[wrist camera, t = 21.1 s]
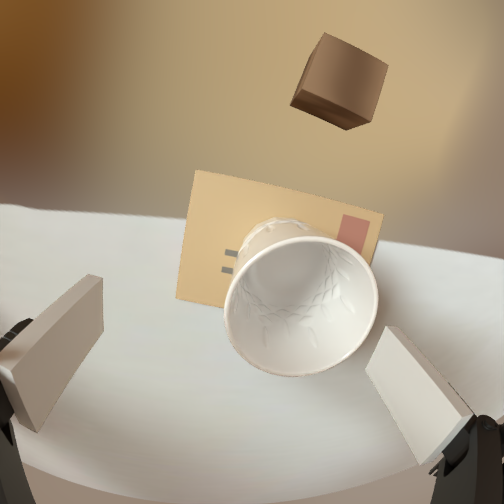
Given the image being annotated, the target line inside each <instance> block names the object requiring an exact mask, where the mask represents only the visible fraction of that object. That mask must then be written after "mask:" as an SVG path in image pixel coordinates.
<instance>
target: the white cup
mask: <svg viewBox="0 0 504 504" xmlns="http://www.w3.org/2000/svg"><path fill="white" fill-rule="evenodd" d="M377 309H378V288H377V283H376V280H375V277H374V274H373V272H372V270H371V268H370V267H369V265H368V264H367V262H366V261H365V260H364V258H363V257H362V256H361V255H360V254H359V253H357V252H356V251H355V250H354V249H352V248H351V247H349V246H348V245H346V244H344V243H342V242H340V241H339V240H337V239H335V238H333V237H332V236H330V235H328V234H326V233H325V232H323V231H321V230H319V229H318V228H316V227H314V226H311V225H309V224H307V223H304V222H301V221H298V220H297V219H295V218H286V217H273V218H271V219H268V220H266V221H263V222H261V223H259V224H257V225H256V226H255V227H254V228H253V229H252V230H251V231H250V232H249V233H248V234H247V236H246V237H245V238H244V240H243V243H242V246H241V248H240V250H239V252H238V255H237V258H236V261H235V264H234V268H233V272H232V276H231V280H230V284H229V288H228V292H227V296H226V300H225V306H224V323H225V328H226V332H227V335H228V337H229V340H230V342H231V344H232V345H233V347H234V348H235V350H236V351H237V352H238V353H239V355H240V356H241V357H242V358H243V359H245V360H246V361H247V362H248V363H250V364H251V365H253V366H254V367H256V368H258V369H260V370H262V371H265V372H267V373H271V374H274V375H279V376H288V377H298V376H307V375H312V374H316V373H319V372H322V371H325V370H328V369H330V368H332V367H334V366H336V365H338V364H339V363H341V362H342V361H344V360H345V359H347V358H348V357H349V356H350V355H351V354H353V353H354V352H355V351H356V350H357V349H358V348H359V346H360V345H361V344H362V343H363V341H364V340H365V339H366V337H367V336H368V334H369V332H370V330H371V328H372V326H373V324H374V321H375V318H376V314H377Z"/></svg>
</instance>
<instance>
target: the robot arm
mask: <svg viewBox="0 0 504 504" xmlns="http://www.w3.org/2000/svg"><path fill="white" fill-rule="evenodd" d="M103 331H104V325H103V278H102V277H98V276H94V275H90V274H87V275H86V276H85V277H84V278H82V279H81V280H80V281H79V282H78V283H76V284H75V285H74V286H73V287H71V288H70V289H69V290H68V291H67V292H65V293H64V294H63V295H62V296H61V297H59V298H58V299H57V300H56V301H55V302H54V303H52V304H51V305H50V306H49V307H48V308H47V309H46V310H44V311H43V312H42V313H41V314H40V315H39V316H38V317H37V318H35V319H34V320H33V319H30V318H28V319H26V320H23V321H21V322H19V323H17V324H16V325H15V326H14V327H13V328H12V329H11V330H10V332H7V333H6V334H5V335H4V337H3V338H1V339H0V504H36V503H35V500H34V498H33V496H32V493H31V490H30V487H29V484H28V481H27V479H26V476H25V472H24V469H23V466H22V462H21V459H20V455H19V451H18V448H17V443H16V439H15V435H14V430H13V425H12V423H11V420H10V418H11V417H12V415H13V414H14V413H15V415H16V417H17V419H18V421H19V423H20V424H21V425H23V426H25V427H27V428H28V429H30V430H32V431H34V432H36V433H38V432H39V430H40V428H41V427H42V425H43V423H44V421H45V420H46V418H47V416H48V415H49V413H50V411H51V410H52V408H53V406H54V405H55V403H56V402H57V400H58V398H59V397H60V395H61V394H62V392H63V390H64V389H65V387H66V386H67V384H68V383H69V381H70V380H71V378H72V376H73V375H74V373H75V372H76V370H77V369H78V367H79V366H80V364H81V363H82V362H83V360H84V359H85V357H86V356H87V354H88V353H89V351H90V350H91V348H92V347H93V346H94V344H95V343H96V341H97V340H98V338H99V337H100V336H101V334H102V333H103ZM365 371H366V373H367V374H368V376H369V378H370V379H371V381H372V383H373V384H374V386H375V388H376V389H377V391H378V393H379V395H380V396H381V398H382V400H383V401H384V403H385V405H386V407H387V408H388V410H389V412H390V414H391V415H392V417H393V419H394V421H395V422H396V424H397V426H398V428H399V429H400V431H401V433H402V435H403V436H404V438H405V440H406V442H407V444H408V445H409V447H410V449H411V451H412V453H413V455H414V456H415V458H416V460H417V462H418V464H419V466H421V465H424V464H427V463H430V462H432V461H434V460H435V459H436V458H437V456H438V455H439V454H440V453H441V452H442V453H443V454H444V457H443V458H442V459H441V460H440V461H439V463H437V464H436V466H434V467H433V469H431V470H430V472H429V474H430V475H431V474H432V473H433V472H434V471H435V470H436V469H438V471H437V472H436V473H435V474H434V475H433V476H436V477H437V479H436V483H435V488H434V492H433V496H432V500H431V503H430V504H504V463H503V464H502V458H503V457H504V423H503V424H502V425H498V424H497V423H496V421H495V420H494V419H492V418H491V417H489V416H487V415H480V416H479V417H477V416H476V415H475V414H474V413H473V411H472V410H471V409H470V408H469V406H468V405H467V404H466V403H465V402H464V400H463V399H462V398H461V397H460V396H459V394H458V393H457V392H456V391H455V390H454V388H453V387H452V386H451V385H450V384H449V383H448V382H447V381H446V380H445V379H444V378H443V376H442V375H441V374H440V373H439V372H438V371H437V370H436V368H435V367H434V366H433V365H432V364H431V363H430V362H429V361H428V359H427V358H426V357H425V356H424V355H423V354H422V353H421V352H420V351H419V349H418V348H417V347H416V346H415V345H414V344H413V343H412V342H411V341H410V340H409V338H408V337H407V336H406V335H405V334H404V333H403V332H402V331H401V330H400V329H399V328H398V327H397V326H385V328H384V331H383V333H382V335H381V337H380V340H379V342H378V344H377V346H376V348H375V350H374V353H373V355H372V357H371V359H370V361H369V363H368V365H367V367H366V369H365Z"/></svg>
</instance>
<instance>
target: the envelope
mask: <svg viewBox="0 0 504 504" xmlns="http://www.w3.org/2000/svg"><path fill="white" fill-rule="evenodd" d="M273 217H286V218H295V219H297V220H298V221H301V222H304V223H307V224H309V225H311V226H314V227H316V228H318V229H319V230H321V231H323V232H325V233H326V234H328V235H330V236H332V237H333V238H335V239H337V240H339V241H340V242H342V243H344V244H346V245H348V246H349V247H351V248H352V249H354V250H355V251H356V252H357V253H359V254H360V255H361V256H362V257H363V258H364V260H365V261H366V262H367V264H368V265H370V262H371V259H372V256H373V253H374V249H375V246H376V243H377V239H378V236H379V232H380V229H381V225H382V221H383V218H384V214H381V213H378V212H374V211H371V210H367V209H364V208H361V207H357V206H354V205H350V204H347V203H343V202H339V201H336V200H332V199H328V198H324V197H320V196H317V195H313V194H309V193H305V192H301V191H297V190H293V189H289V188H284V187H280V186H276V185H271V184H267V183H262V182H258V181H252V180H248V179H244V178H239V177H234V176H229V175H223V174H218V173H213V172H207V171H202V170H196V172H195V177H194V182H193V187H192V193H191V198H190V203H189V209H188V215H187V221H186V227H185V233H184V239H183V246H182V253H181V260H180V267H179V274H178V282H177V290H176V298H177V299H181V300H186V301H191V302H195V303H200V304H205V305H210V306H215V307H220V308H224V306H225V300H226V296H227V292H228V288H229V284H230V280H231V276H232V272H233V268H234V264H235V261H236V258H237V255H238V252H239V250H240V248H241V246H242V243H243V240H244V238H245V237H246V236H247V234H248V233H249V232H250V231H251V230H252V229H253V228H254V227H255V226H256V225H257V224H259V223H261V222H263V221H266V220H268V219H271V218H273Z"/></svg>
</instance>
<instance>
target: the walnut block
mask: <svg viewBox="0 0 504 504" xmlns="http://www.w3.org/2000/svg"><path fill="white" fill-rule="evenodd" d="M387 69H388V65H387V64H386V63H384V62H382V61H381V60H379V59H377V58H375V57H373V56H372V55H370V54H368V53H366V52H364V51H362V50H360V49H359V48H357V47H354V46H352V45H351V44H348V43H346V42H344V41H342V40H340V39H338V38H336V37H333V36H331V35H329V34H327V33H324V34H323V36H322V37H321V39H320V41H319V42H318V44H317V45H316V47H315V49H314V50H313V52H312V54H311V55H310V57H309V59H308V62H307V64H306V66H305V69H304V71H303V74H302V77H301V79H300V81H299V84H298V86H297V89H296V91H295V94H294V96H293V99H292V101H291V104H290V106H292V107H294V108H297V109H299V110H301V111H304V112H306V113H309V114H311V115H313V116H316V117H318V118H320V119H322V120H324V121H327V122H329V123H331V124H333V125H335V126H337V127H339V128H341V129H343V130H349V129H352V128H355V127H357V126H360V125H363V124H366V123H369V122H371V120H372V117H373V114H374V111H375V108H376V105H377V102H378V99H379V95H380V92H381V89H382V86H383V83H384V79H385V76H386V73H387Z"/></svg>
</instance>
